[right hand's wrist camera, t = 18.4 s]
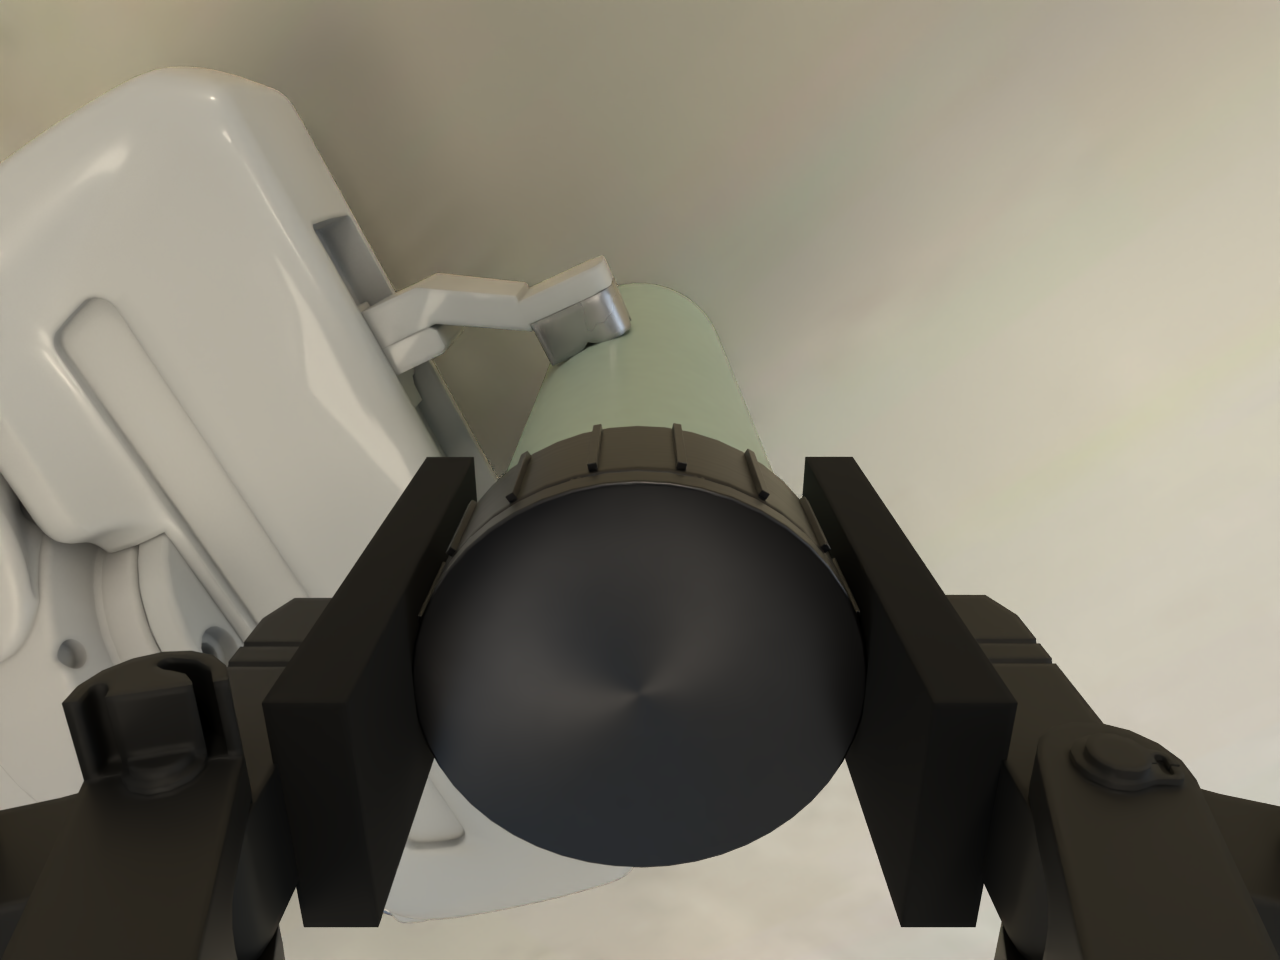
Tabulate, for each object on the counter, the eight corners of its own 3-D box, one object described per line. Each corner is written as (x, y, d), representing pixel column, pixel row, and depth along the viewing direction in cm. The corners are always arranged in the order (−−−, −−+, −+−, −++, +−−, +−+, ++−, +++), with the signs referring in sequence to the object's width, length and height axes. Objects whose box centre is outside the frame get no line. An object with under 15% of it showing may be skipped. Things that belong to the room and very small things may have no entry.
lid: (824, 765, 13) (855, 872, 11) (459, 769, 13) (429, 875, 11) (852, 417, 11) (896, 475, 9) (421, 422, 11) (378, 480, 9)
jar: (521, 374, 25) (372, 670, 11) (632, 246, 24) (621, 396, 10) (646, 478, 26) (654, 863, 12) (757, 360, 25) (910, 642, 11)
